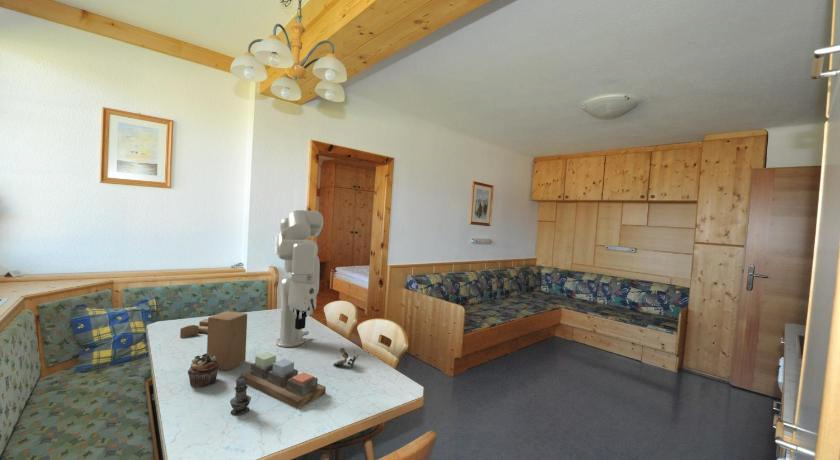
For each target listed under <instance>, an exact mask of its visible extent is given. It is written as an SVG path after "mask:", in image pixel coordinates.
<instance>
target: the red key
mask: <svg viewBox="0 0 840 460" xmlns="http://www.w3.org/2000/svg"><path fill="white" fill-rule="evenodd" d="M313 377H315V376H313V375H312V374H309V373H306V372H304V371H303V372H301V373H298V375H296V376H294V377H292V381H293V382H296V383H298V384H300V385H303V384H305V383H307V382H309V381H311V380H313Z"/></svg>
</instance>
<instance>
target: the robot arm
mask: <svg viewBox="0 0 840 460" xmlns="http://www.w3.org/2000/svg"><path fill="white" fill-rule="evenodd" d="M279 225H280V226H279V228H280V233H279V235H278V237H277V241H276V254H277V257H278V258H279V259H280V260H283V261H284V271H285V273H287V274H289V275H291V276H289V277H284V278H283V279H282V280H281V281H280V285H279V287H280V297H281V299H280V300H281V302H280V303H281V305H280V307H281V309H280V310H281V311H280V328H279V329H280V331H279V332H280V333H279V338H278V339H276V342H275V343H276V345H277V346H278V347H280V348H281V347H282V348H293V347H298V346H301V345H303V344H304V343H305V338H304V337H305V336H308V335H309V334H310V331H309V330H303V329H306V322H307V320H306V319H307V317H308V316H312V315H313V313H314V312H313V311H314V310H316V309H317V295H318V294H319V291H320V268H321V267H320V266H321V265H320V264H321V263H320V258H319V256H318V254H319V253H318V252H319V246H318V244H317V242H316V241H315V240H310V239H309V238H311V237H312V238H317V237H318V236H319V235H320V234H321V231H322V229H323V227H324V217H323V214H322V213H321V212H320V211H317V210H306V209H305V210H303V209H300V210H299V209H296V210H293V211H291V212H290V213H289V214H288V217H286V218H282V220H281V221H280V224H279Z"/></svg>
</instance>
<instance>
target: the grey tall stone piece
mask: <svg viewBox="0 0 840 460" xmlns="http://www.w3.org/2000/svg"><path fill="white" fill-rule="evenodd" d="M235 383H236V384H235V387H234V391H235V394H234V395H235V396H233V397H232V398H231V399H230V400H229V404H230V406H231V408H232V410H231V411H230V415H231V416H234V417H240V416H244V415H246V414H248V413H249V412H250V409H251V408H250V407H249V405H250V402H251V400H252V397H251V395H247V389H248V388H249V387H248V386H249V385H247V384H246V383H247V377H246V376H244V375H243V373H242V372H241V373H240V375H239V376H237V377H236V382H235Z"/></svg>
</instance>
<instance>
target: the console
mask: <svg viewBox="0 0 840 460" xmlns="http://www.w3.org/2000/svg"><path fill="white" fill-rule="evenodd" d="M242 374H243V373H242ZM298 374H299V371H298V369H295V368H294V371H293V372H291V373H289V374H286V375H284V376H279V375H277V374H275V373H273V365H271V366H269V367H266V368H264V369H263V368H261V367H258V366H256V365H255V362H254V363H251V364H250V371H248V372H247V373H244V374H243V375H244V376H246V377H247V383H246V385H247V386H249V387H250V388H253V389H255V390H257V391H259V392H261V393H263V394H266V395H268V396H269V397H271V398H273V399H276V400H278V401H280V402H282V403H284V404H285V405H289V406H290V407H292V408H294V409H296V410H299V409H301V408H302V407H304V406H306V405H308V404H310V403H311V402H313V401H315V400H317V399H319V398H320V397H322V396H324V395H326V390H327V387H326V386H325V385H322V384H320V383H318V381H319V379H318V378H317V377H315V376H314V377H313V380H311V381H309V382H307V383H305V384H303V385H300V384H298V383H296V382H293V381H292V377H294V376H296V375H298Z"/></svg>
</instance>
